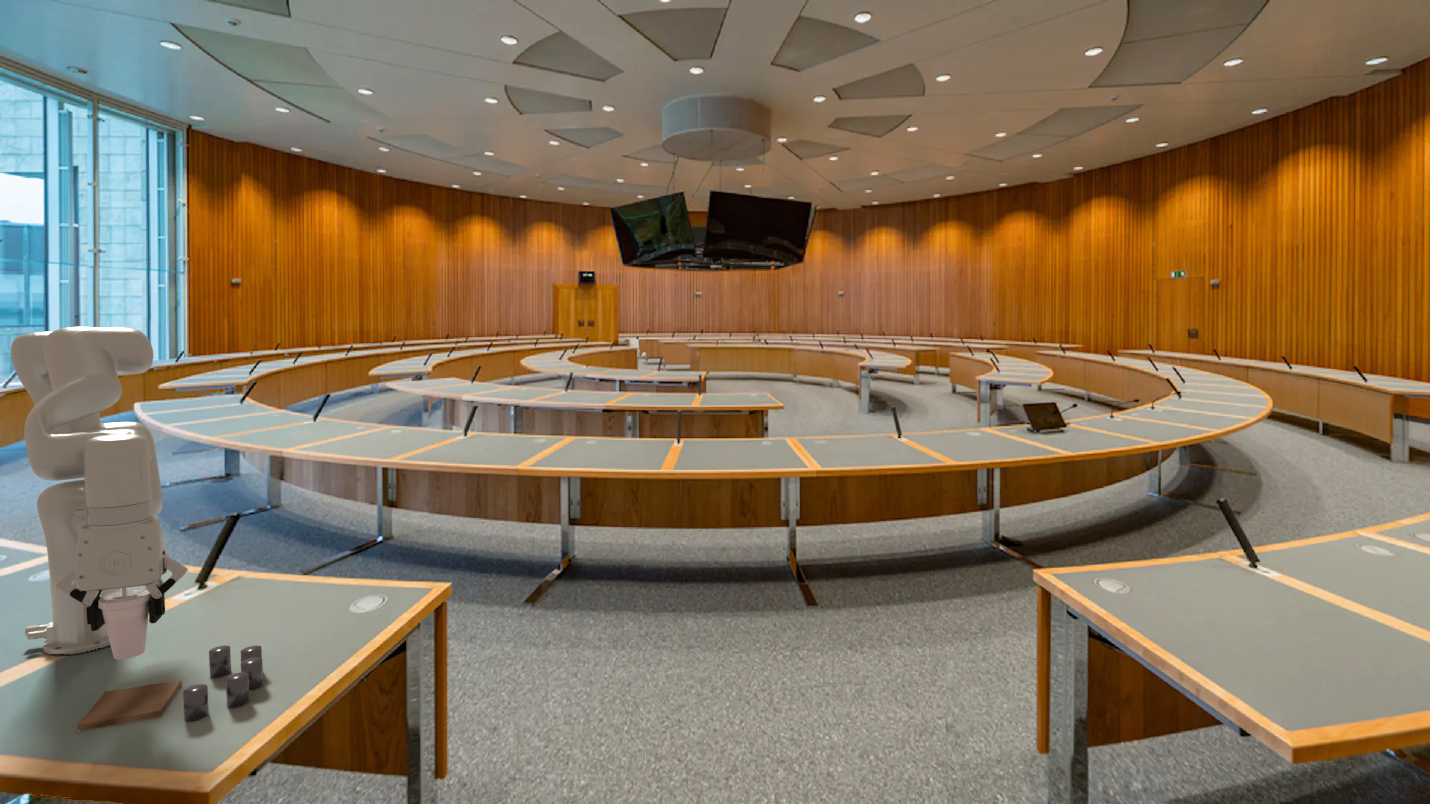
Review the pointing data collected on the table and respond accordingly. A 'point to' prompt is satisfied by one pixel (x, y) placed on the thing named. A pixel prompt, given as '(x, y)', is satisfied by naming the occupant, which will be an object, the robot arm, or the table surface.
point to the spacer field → (235, 683)
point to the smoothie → (126, 621)
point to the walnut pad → (130, 705)
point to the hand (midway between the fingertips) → (127, 622)
